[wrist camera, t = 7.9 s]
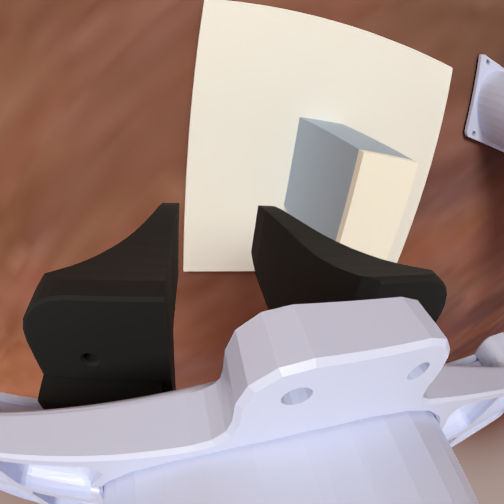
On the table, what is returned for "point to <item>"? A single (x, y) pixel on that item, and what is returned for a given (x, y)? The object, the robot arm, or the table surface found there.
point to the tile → (292, 116)
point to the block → (348, 186)
